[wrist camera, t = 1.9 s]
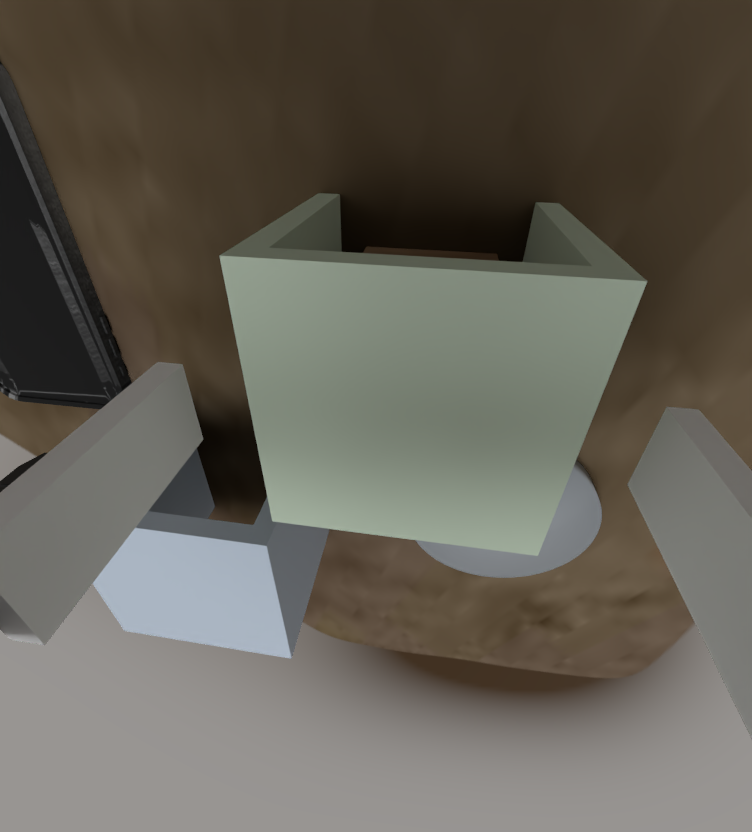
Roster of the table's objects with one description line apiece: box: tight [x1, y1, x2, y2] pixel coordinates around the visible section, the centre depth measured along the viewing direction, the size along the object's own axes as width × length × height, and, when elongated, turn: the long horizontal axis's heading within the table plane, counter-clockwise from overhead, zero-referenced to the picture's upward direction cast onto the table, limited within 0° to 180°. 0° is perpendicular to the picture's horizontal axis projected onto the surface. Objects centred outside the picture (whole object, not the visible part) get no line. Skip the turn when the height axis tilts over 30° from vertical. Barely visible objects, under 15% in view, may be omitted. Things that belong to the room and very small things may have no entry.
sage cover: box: [219, 193, 647, 556], centre depth 14 cm, size 9×9×8 cm
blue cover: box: [93, 448, 329, 658], centre depth 21 cm, size 9×9×8 cm
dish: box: [416, 460, 602, 578], centre depth 23 cm, size 10×10×1 cm
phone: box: [0, 62, 132, 409], centre depth 19 cm, size 8×1×15 cm
